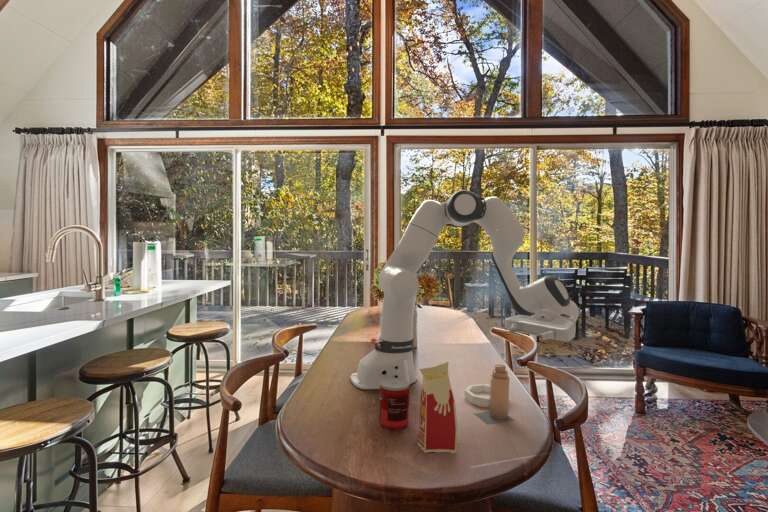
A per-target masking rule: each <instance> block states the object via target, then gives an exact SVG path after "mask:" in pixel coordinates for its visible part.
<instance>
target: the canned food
mask: <svg viewBox="0 0 768 512" xmlns="http://www.w3.org/2000/svg"><path fill="white" fill-rule="evenodd" d="M378 413H379V416H378V417H379V418H378V419H379V423H380V426H382V427H383V428H385V429H388V430H392V431H393V430H396V431H397V430H398V431H399V430H402V429H405V428H407V427H408V425H409V422H410V421H409V420H410V419H409V418H410V417H409V416H410V385H409V382H408V381H406V380H404V379H400V378H387V379H383V380H382V381H381V382H380V389H379V412H378Z"/></svg>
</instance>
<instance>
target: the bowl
mask: <svg viewBox="0 0 768 512" xmlns="http://www.w3.org/2000/svg"><path fill="white" fill-rule="evenodd" d="M464 398H465V399H466V401H467V402H468V403H470V404H472V405H474V406H476V407H477V406H478V407H483V408H490V384H488V383H487V384H486V383H479V384H478V383H477V384H469V385H468V386H466V388H465V389H464Z"/></svg>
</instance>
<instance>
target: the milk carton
mask: <svg viewBox="0 0 768 512" xmlns="http://www.w3.org/2000/svg"><path fill="white" fill-rule="evenodd" d="M418 370H419V371H420V372H421V375H422V384H421V389H420V390H421V392H420V400H419V401H420V403H419V414H418V416H419V420H418V422H419V423H418V424H419V427H418V435H417V436H418V437H417V447H419V446H420V447H421V448H420V447H419V448H420V449H421V450H422V451H423V452H424V453H425V454H428V453H427V452H435V453H441V452H451V453H450V454H457V453H458V452H457V451H458V450H457V449H458V421H457V419H458V418H457V411H456V399H455V397H454V392H453V389H452V384H451V382H450V378H449V377H450V375H449V361H446V362H443V363H442V362H441V363H440V364H436V365H434V366H429V367H428V366H427V367H422V368H418Z"/></svg>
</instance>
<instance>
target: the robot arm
mask: <svg viewBox="0 0 768 512" xmlns="http://www.w3.org/2000/svg"><path fill="white" fill-rule="evenodd" d="M471 223H475V224H478V225H479V226H480V227H481V228H482V230H484V232H485V234H486V235H487V236H488V238H489V240H490V243H491V245H492V252H491V259H492V262H493V264H494V266H495V270H496V271H497V273H498V276H499V278H500V280H501V282H502V284H503V286H504V288H505V291H506V293H507V296H508V298H509V301H510V304H511V307H512V309H513V311H514V312H515V313H516V314H515V315H511V316H509V317H506V318H505V321H504V327H505V330H507V331H508V332H509V333H508V334H512V335H515V334H516V333H521V334H527V335H529V336H536V337H538V340H541V341H546V340H555V341H561V342H565V343H566V342H570V341H572V340H573V339H574V338H576V332H577V331H576V329H577V328H576V325H577V324H576V322H577V320H578V319H579V315H580V310H579V307H578V305H577V304H576V302H575V301H573V300H571V297H570V293H569V290H568V288H567V286H566V285H565V284H564V282H563V281H562V280H560V279H559V278H557V277H555V276H552V275H545V276H543V277H541V278H539V279H537V280H535V281H533V282H531V283H529V284H527V285H524V286H523V285H522V284H521V282H520V281H519V277H518V276H517V274H516V272H515V270H514V267H513V264H512V262H513V258H514V256H515V254H516V253H517V251H518V250H519V249H520V248H521V246H522V245H523V242H524V240H525V230H524V227H523V226H522V224H521V222H520V220H519V219H518V218H517V217H516V215H515V213H513V211H512V210H511V209H510V207H509V206H508V205H507V204H506V203H505V202H504V201H503V200H502V199H501V198H500V197H498V196H494V195H493V196H489V197H486V198H484V197H482V196H481V195H479V194H476V193H475V192H472V191H471V190H467V189H461V190H457V191H456V192H454V193H453V194H451V195H450V197H449V198H448V199H447V200H446V201H445V202H439V201H437V200H434V199H427V200H424V201H423V202H422V203H421V204H420V206H419V207H418V208H417V209H416V211H415V212H414V213H413V215H412V217H411V218H410V219H409V222H408V224H407V226H406V228H405V230H404V232H403V235H401V238H400V240H399V242H398V243H397V246H396V247H395V248H394V250H393V251H392V253H391V255H390V256H389V257H388V260H387V261H386V262H385V264H384V266H383V267H382V269H381V270H380V272H379V274H378V278H377V279H378V285H379V289H381V291H382V292H383V300H382V308H381V309H382V310H381V313H380V326H379V327H380V328H379V329H380V330H379V331H380V333H379V334H380V335H379V337H378V339H376V338H375V337H372V338H371V339H370V343H371V344H372V345H373V346H374V349H372V350H371V351H370V352H369V353H368V354H366V355H365V356H364V357H362V358H361V359H360V360H359V362H358V365H357V371H356V372H353V373H351V375H350V382H351V384H353V385H354V386H355V387H356V388H359V389H360V390H380V382H381V381H382V380H383V379H387V378H400V379H404V380H406V381H408V382H409V386H410V385H412V384H414V383H415V382H416V381H417V380H418V378H417V375H416V371H415V365H414V351H415V342H414V341H415V339H414V337H413V332H414V330H413V329H414V314H415V313H414V312H415V307H416V301H417V294H418V292H419V289H420V283H419V279H418V277H417V275H416V273H417V272H418V270H419V269H421V267H422V265H423V264H424V263H425V262H426V261H427V260H428V258H429V256H430V254H431V252H432V250H433V248H434V246H435V245H436V243H437V240H438V239H439V237H440V234H441V232H442V231H443V229H444V227H445V226H446V227H451V228H452V227H453V228H464V227H467V226H468V225H470V224H471Z"/></svg>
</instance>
